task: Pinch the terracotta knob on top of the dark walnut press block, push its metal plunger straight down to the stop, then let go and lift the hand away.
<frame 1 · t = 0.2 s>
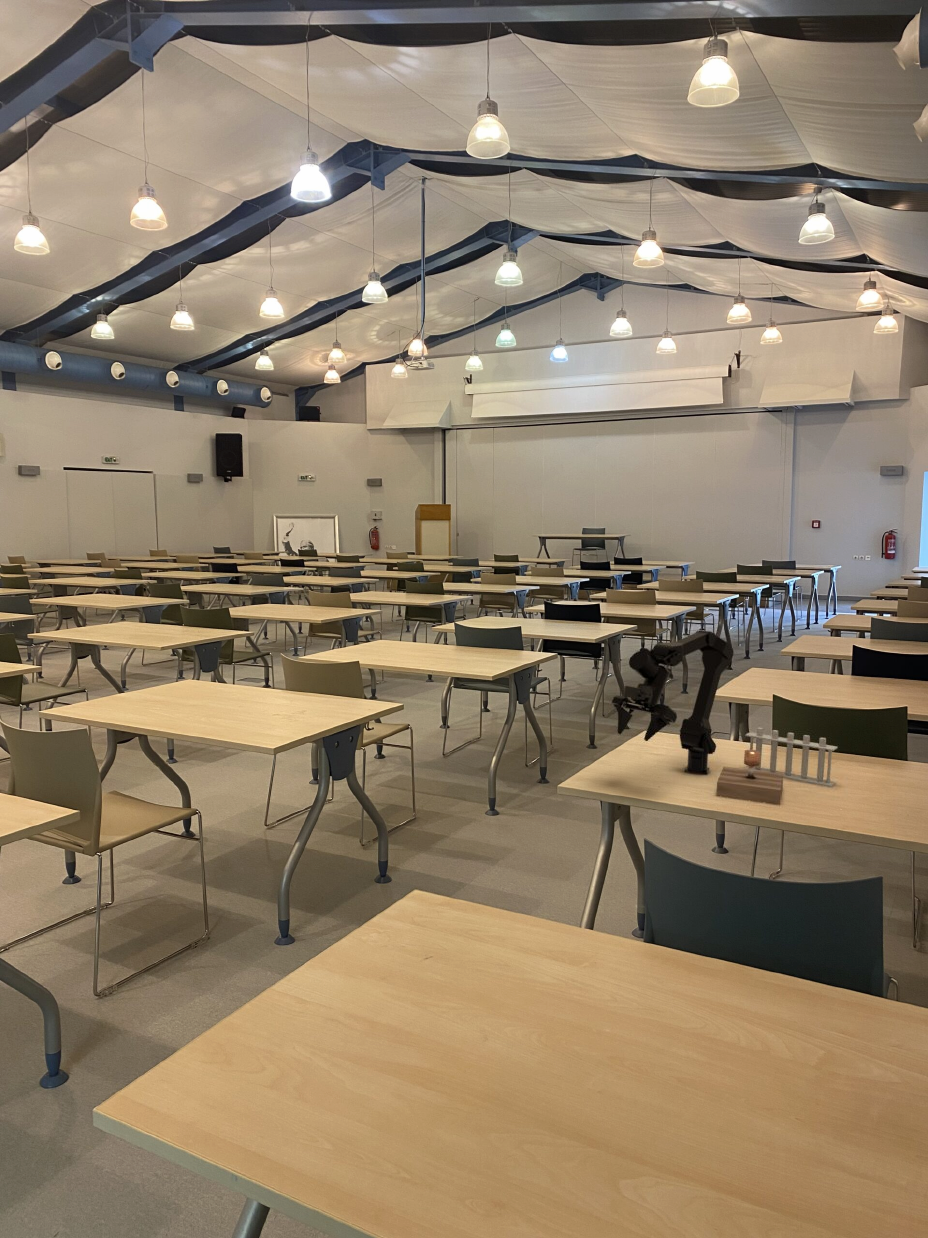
hand: (631, 737, 225), 15 cm above the table, tool tilted 30°, fingers open, 9 cm apart
press housing: (750, 791, 228), on the table
plunger: (751, 765, 227), point 8 cm above the table, slide at 0.0 cm
test tube rack: (787, 778, 242), on the table
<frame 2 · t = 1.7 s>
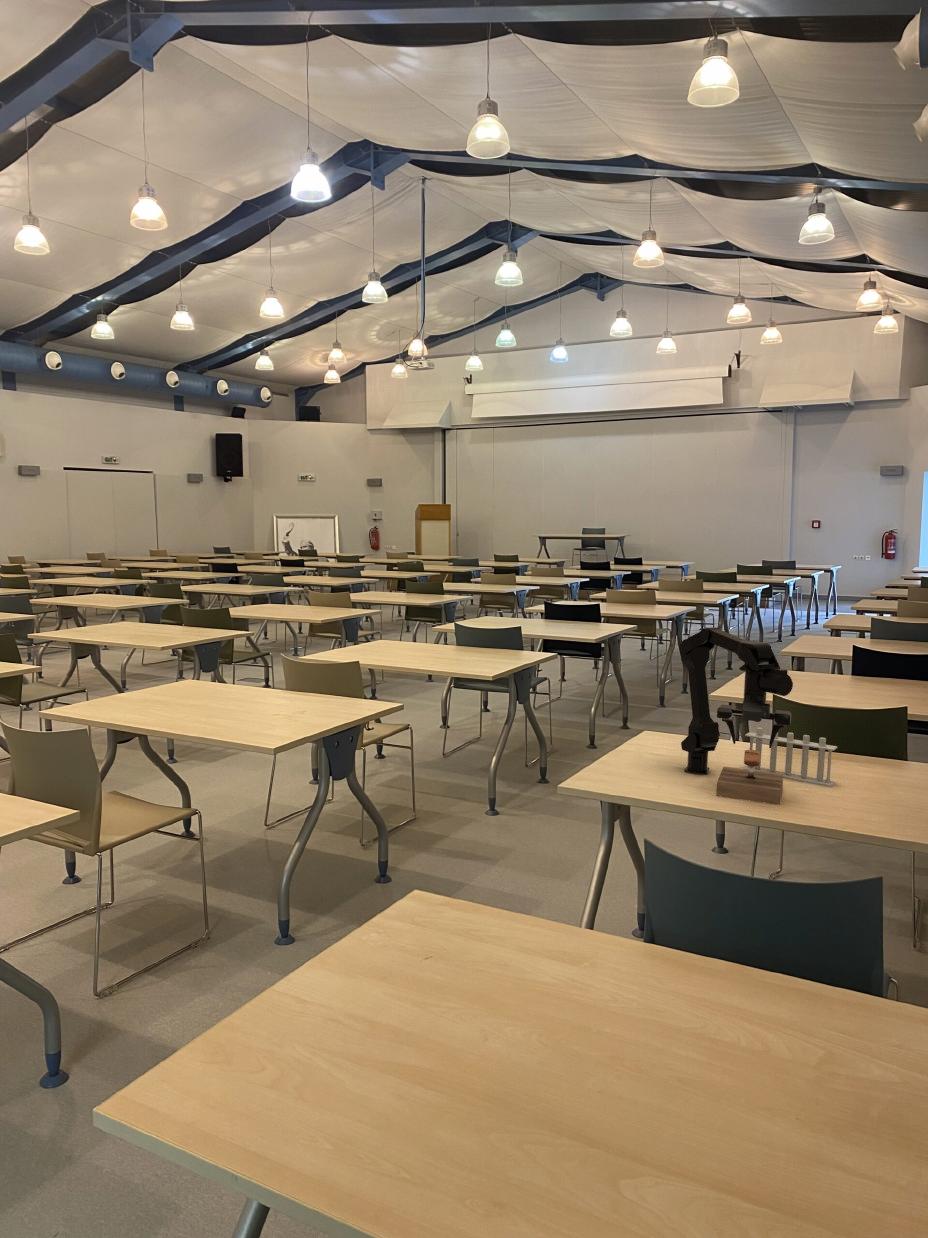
hand: (752, 745, 226), 13 cm above the table, tool pointing down, fingers open, 9 cm apart
nothing on the table moved.
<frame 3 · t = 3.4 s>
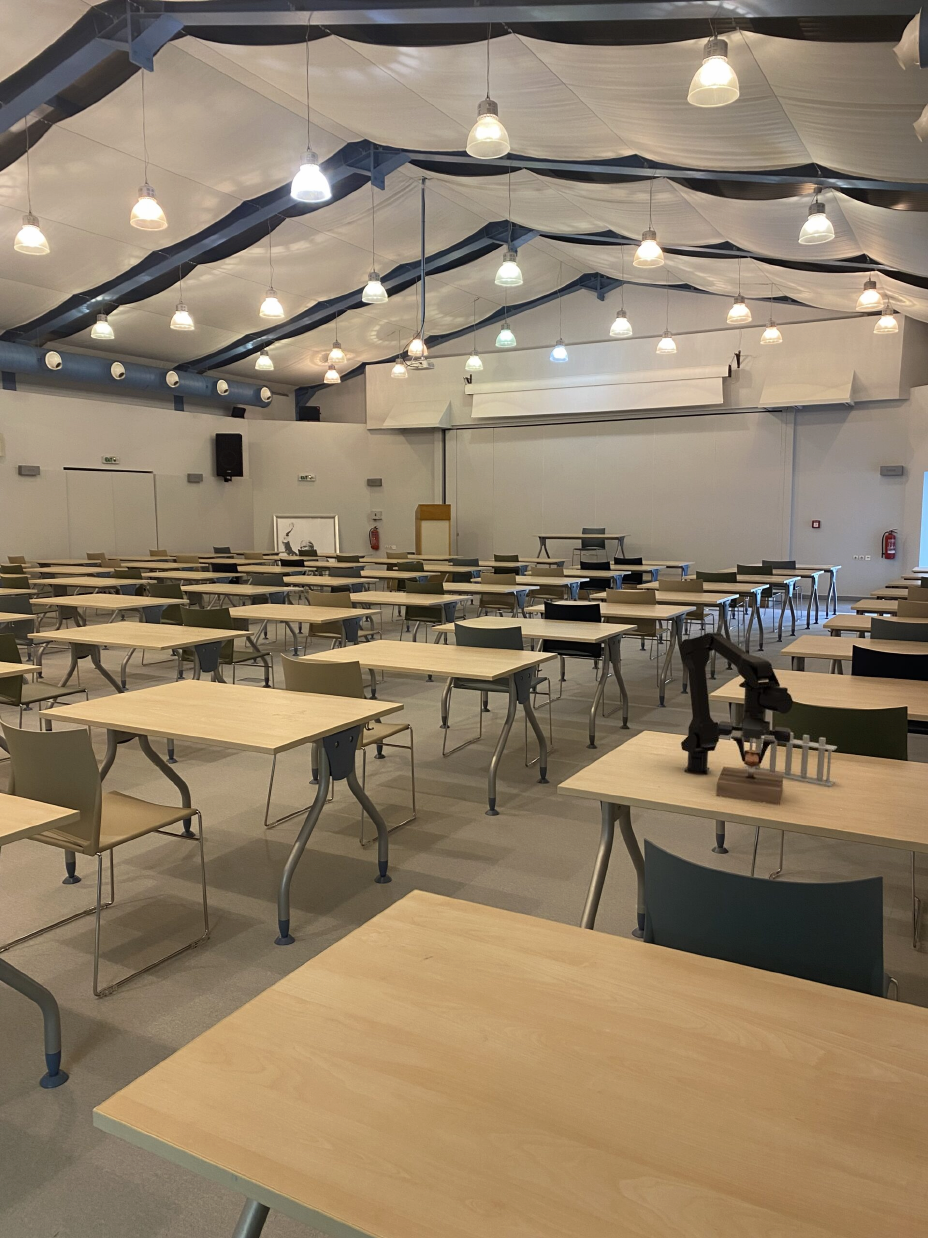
hand: (751, 762, 227), 8 cm above the table, tool pointing down, fingers closed on plunger, 4 cm apart
plunger: (751, 765, 227), point 8 cm above the table, slide at 0.0 cm, touching gripper
everything else where it was.
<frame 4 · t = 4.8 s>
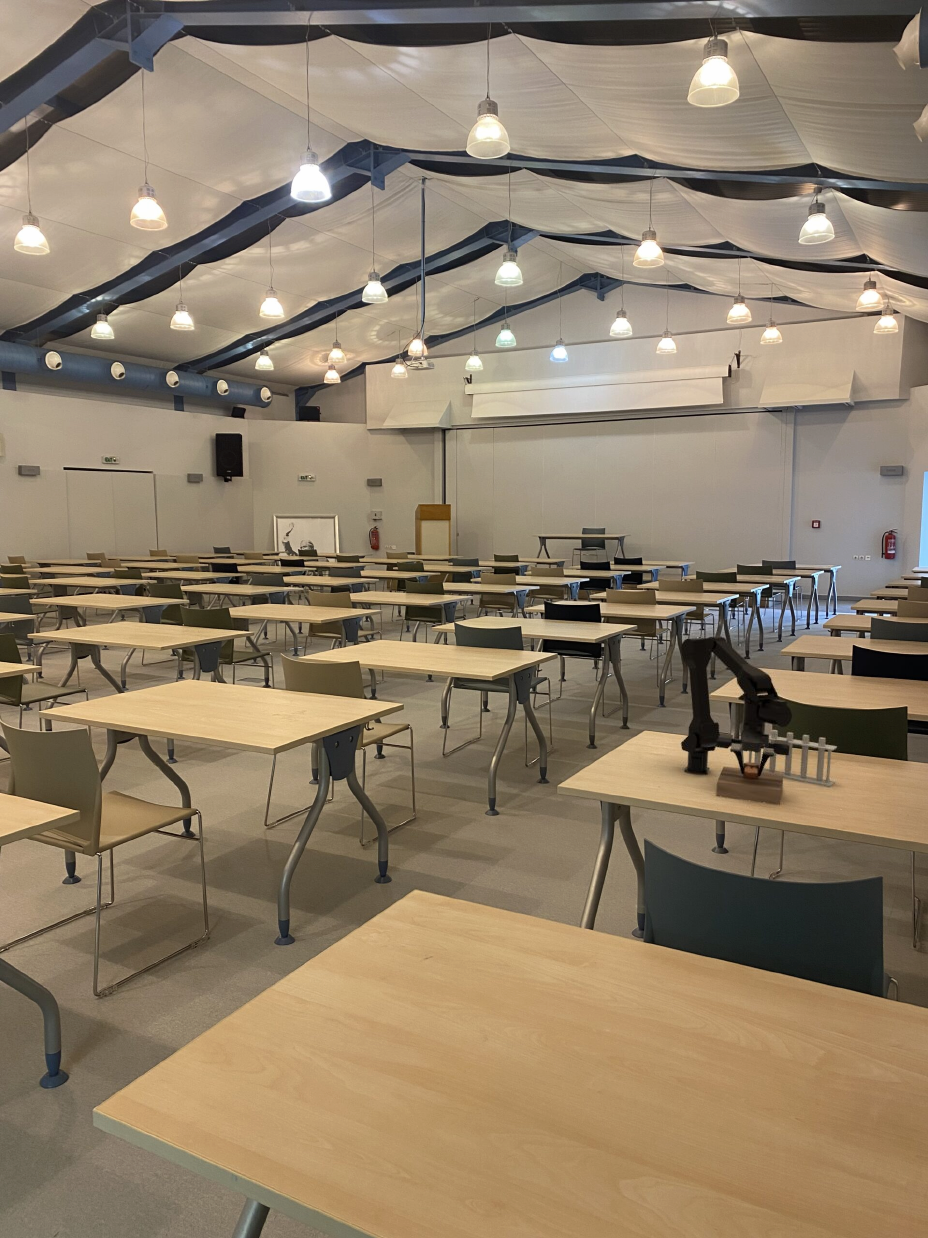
hand: (751, 775, 227), 5 cm above the table, tool pointing down, fingers closed on plunger, 4 cm apart
plunger: (750, 777, 227), point 4 cm above the table, slide at 3.6 cm, touching gripper
everything else where it was.
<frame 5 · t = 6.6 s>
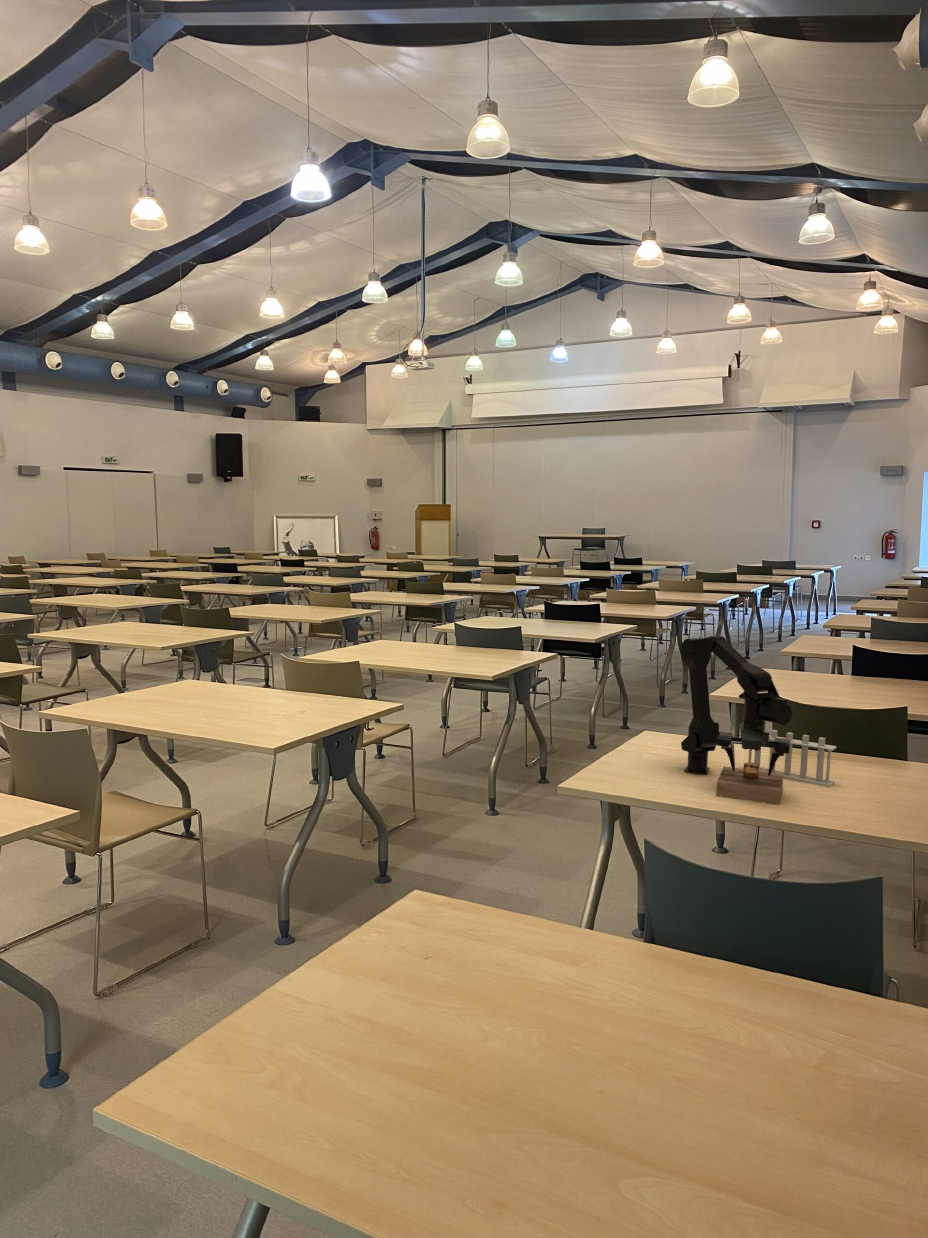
hand: (751, 773, 227), 5 cm above the table, tool pointing down, fingers open, 9 cm apart
plunger: (750, 777, 227), point 4 cm above the table, slide at 3.6 cm
everything else where it was.
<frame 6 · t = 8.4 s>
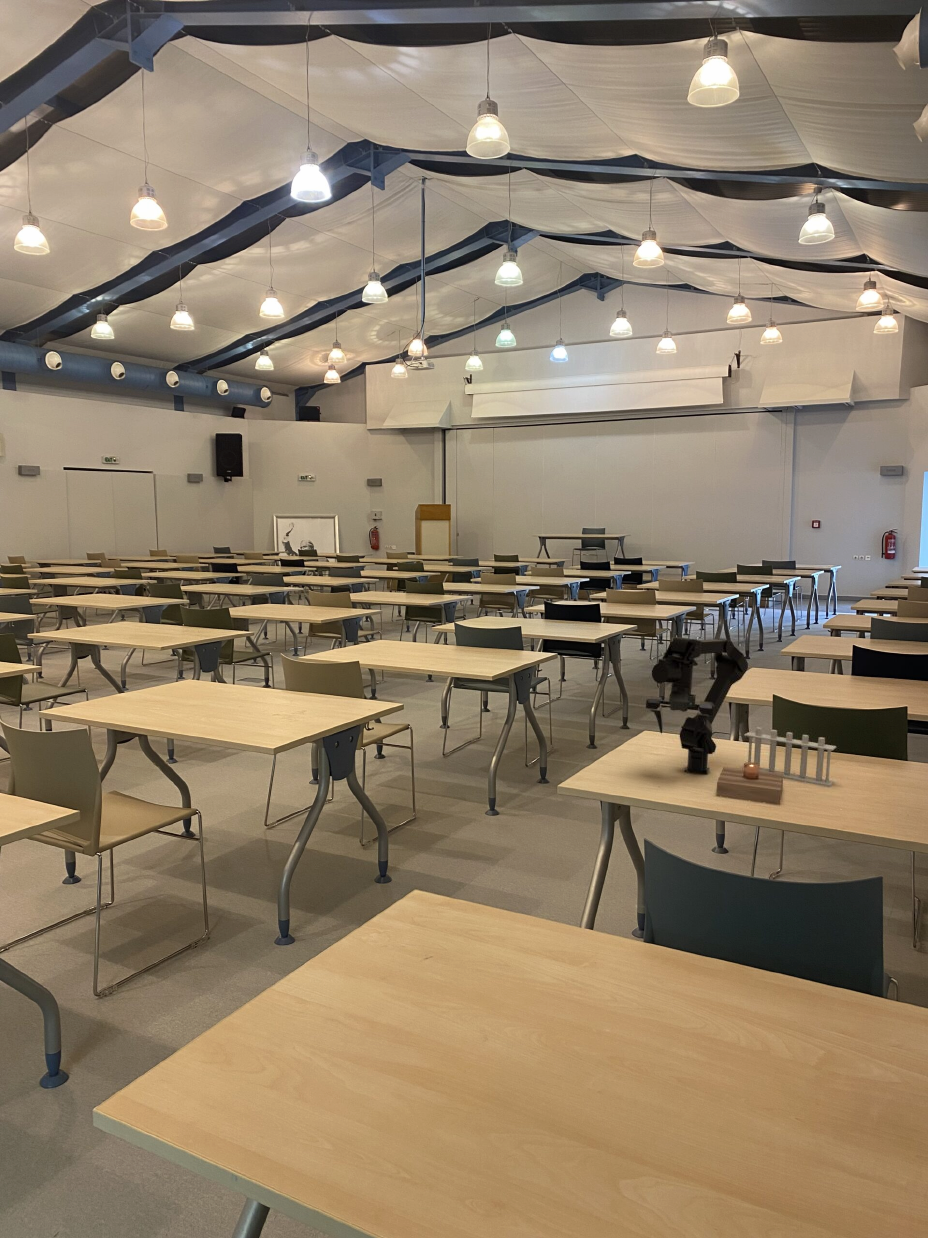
hand: (677, 735, 239), 12 cm above the table, tool pointing down, fingers open, 9 cm apart
nothing on the table moved.
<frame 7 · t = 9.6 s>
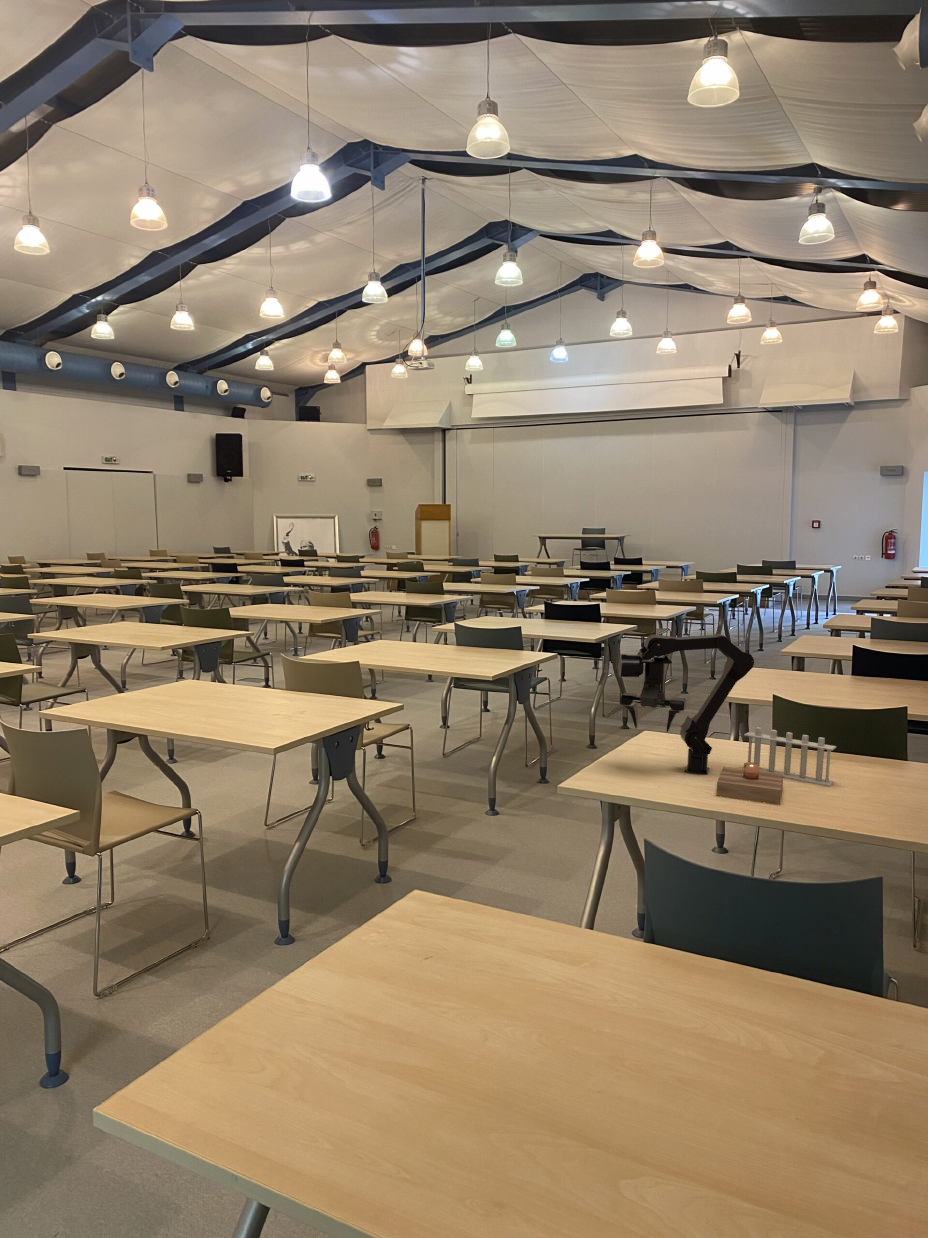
hand: (651, 730, 246), 12 cm above the table, tool pointing down, fingers open, 9 cm apart
nothing on the table moved.
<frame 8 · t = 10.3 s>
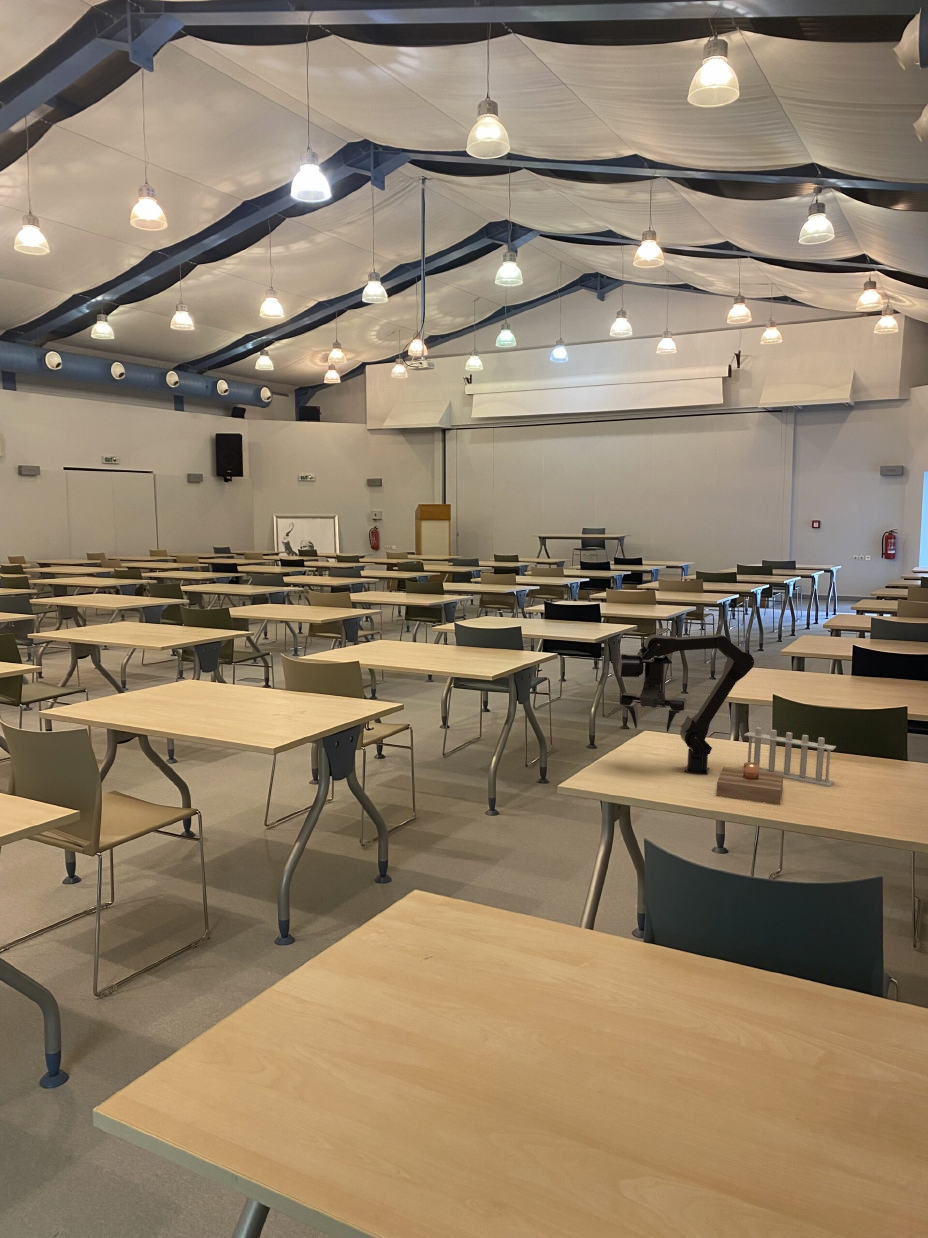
hand: (651, 730, 246), 12 cm above the table, tool pointing down, fingers open, 9 cm apart
nothing on the table moved.
at the end: plunger slide at 3.6 cm; the gripper is holding nothing; test tube rack moved 0.6 cm from its start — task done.
